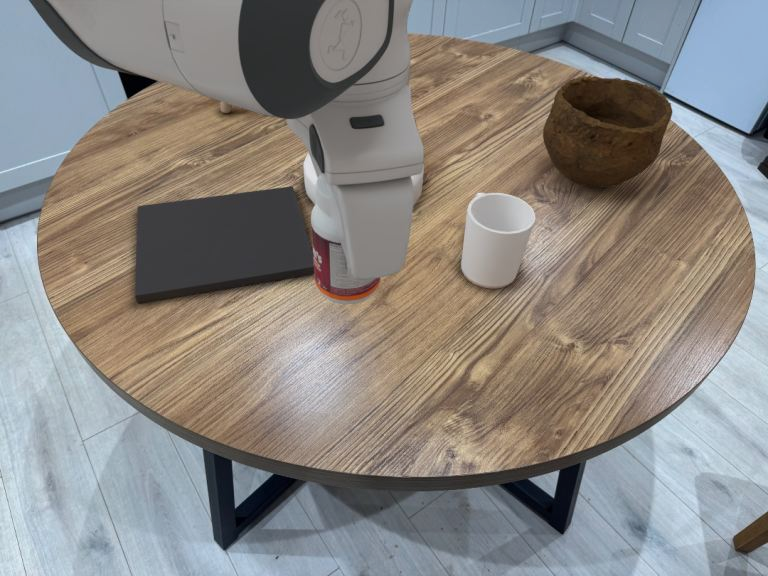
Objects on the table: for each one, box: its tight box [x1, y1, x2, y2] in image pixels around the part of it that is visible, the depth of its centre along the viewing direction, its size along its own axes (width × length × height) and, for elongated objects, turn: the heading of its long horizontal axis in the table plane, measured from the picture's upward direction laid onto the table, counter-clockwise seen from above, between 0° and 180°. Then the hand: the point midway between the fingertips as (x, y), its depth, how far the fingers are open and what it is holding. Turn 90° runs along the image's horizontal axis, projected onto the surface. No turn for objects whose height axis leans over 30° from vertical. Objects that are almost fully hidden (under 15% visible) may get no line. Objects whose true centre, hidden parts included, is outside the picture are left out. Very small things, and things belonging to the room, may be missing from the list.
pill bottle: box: [310, 175, 381, 305], centre depth 50 cm, size 6×6×11 cm
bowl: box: [542, 75, 673, 188], centre depth 95 cm, size 19×19×15 cm
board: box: [134, 185, 314, 304], centre depth 84 cm, size 24×20×2 cm
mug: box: [460, 192, 536, 290], centre depth 79 cm, size 11×9×10 cm
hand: (347, 245), depth 50 cm, fingers closed on pill bottle, 6 cm apart
